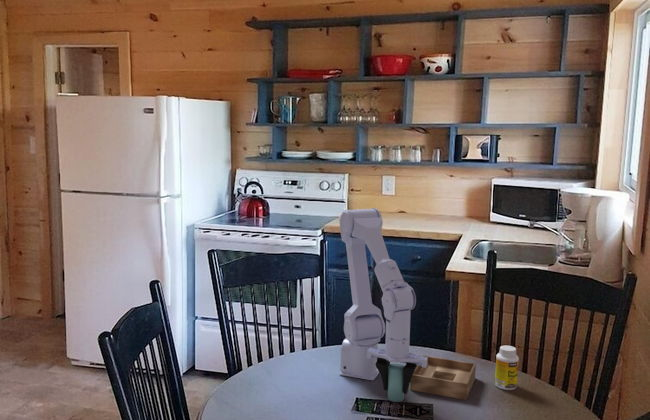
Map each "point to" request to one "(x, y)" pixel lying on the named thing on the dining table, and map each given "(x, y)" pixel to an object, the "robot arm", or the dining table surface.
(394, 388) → the peg
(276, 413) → the dining table surface
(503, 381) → the supplement bottle
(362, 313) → the robot arm
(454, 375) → the box
